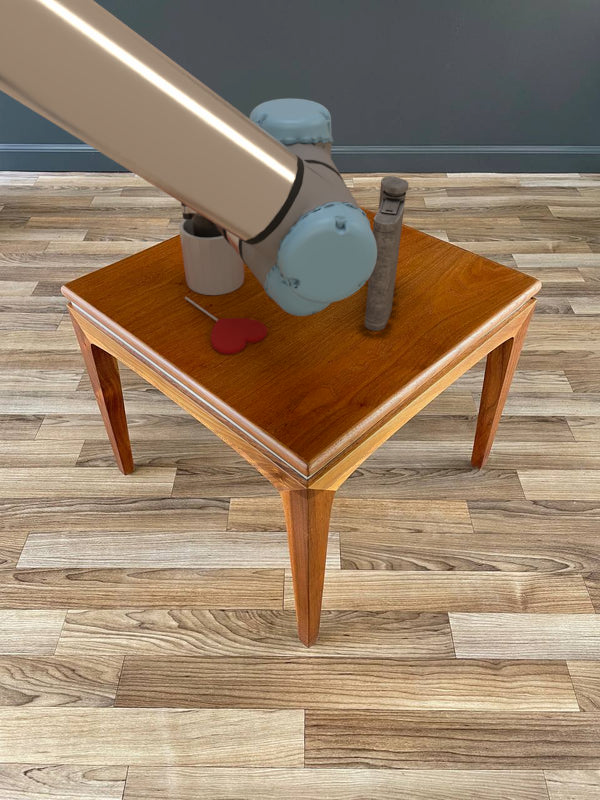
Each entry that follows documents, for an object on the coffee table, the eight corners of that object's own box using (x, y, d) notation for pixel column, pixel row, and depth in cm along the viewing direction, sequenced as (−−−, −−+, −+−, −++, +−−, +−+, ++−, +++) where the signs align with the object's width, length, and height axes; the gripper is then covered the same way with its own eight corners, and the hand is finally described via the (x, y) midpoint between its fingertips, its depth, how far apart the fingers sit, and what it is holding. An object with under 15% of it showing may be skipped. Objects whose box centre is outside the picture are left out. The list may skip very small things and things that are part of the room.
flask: (396, 278, 98) (411, 160, 85) (390, 332, 87) (405, 207, 75) (372, 275, 98) (383, 158, 86) (363, 329, 87) (374, 205, 75)
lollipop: (162, 311, 91) (226, 360, 83) (161, 305, 90) (225, 354, 82) (208, 290, 95) (274, 335, 87) (208, 285, 94) (274, 329, 86)
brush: (191, 249, 91) (174, 101, 78) (198, 233, 95) (183, 89, 81) (224, 251, 91) (213, 102, 77) (230, 235, 94) (220, 90, 81)
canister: (180, 293, 94) (172, 238, 88) (192, 263, 100) (186, 209, 94) (239, 296, 93) (235, 240, 87) (248, 266, 100) (245, 212, 94)
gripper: (194, 267, 73) (142, 188, 89) (314, 240, 78) (243, 170, 94) (187, 205, 68) (133, 133, 84) (315, 181, 73) (241, 117, 89)
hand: (191, 152), depth 89 cm, fingers closed on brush, 2 cm apart
